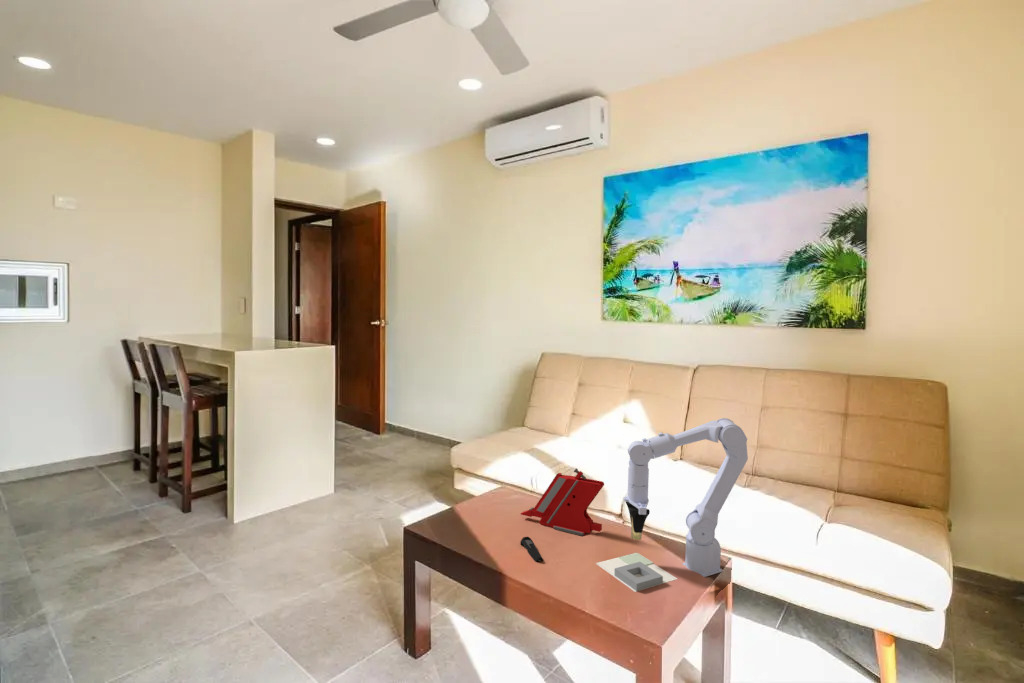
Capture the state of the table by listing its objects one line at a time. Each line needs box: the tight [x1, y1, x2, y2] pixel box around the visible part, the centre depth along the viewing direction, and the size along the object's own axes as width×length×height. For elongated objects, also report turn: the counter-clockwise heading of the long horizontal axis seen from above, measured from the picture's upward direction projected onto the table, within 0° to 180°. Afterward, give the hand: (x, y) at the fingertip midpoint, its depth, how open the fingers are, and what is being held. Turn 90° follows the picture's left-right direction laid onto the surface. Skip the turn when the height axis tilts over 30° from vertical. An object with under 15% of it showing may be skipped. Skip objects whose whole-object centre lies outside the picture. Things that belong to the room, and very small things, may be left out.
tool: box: [520, 467, 605, 537], centre depth 175 cm, size 27×6×27 cm, turn 64°
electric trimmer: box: [520, 536, 544, 563], centre depth 158 cm, size 4×15×3 cm, turn 15°
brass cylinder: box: [630, 520, 643, 541], centre depth 152 cm, size 3×3×7 cm
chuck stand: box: [595, 552, 678, 593], centre depth 146 cm, size 15×17×3 cm
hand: (636, 529), depth 152 cm, fingers closed on brass cylinder, 3 cm apart
